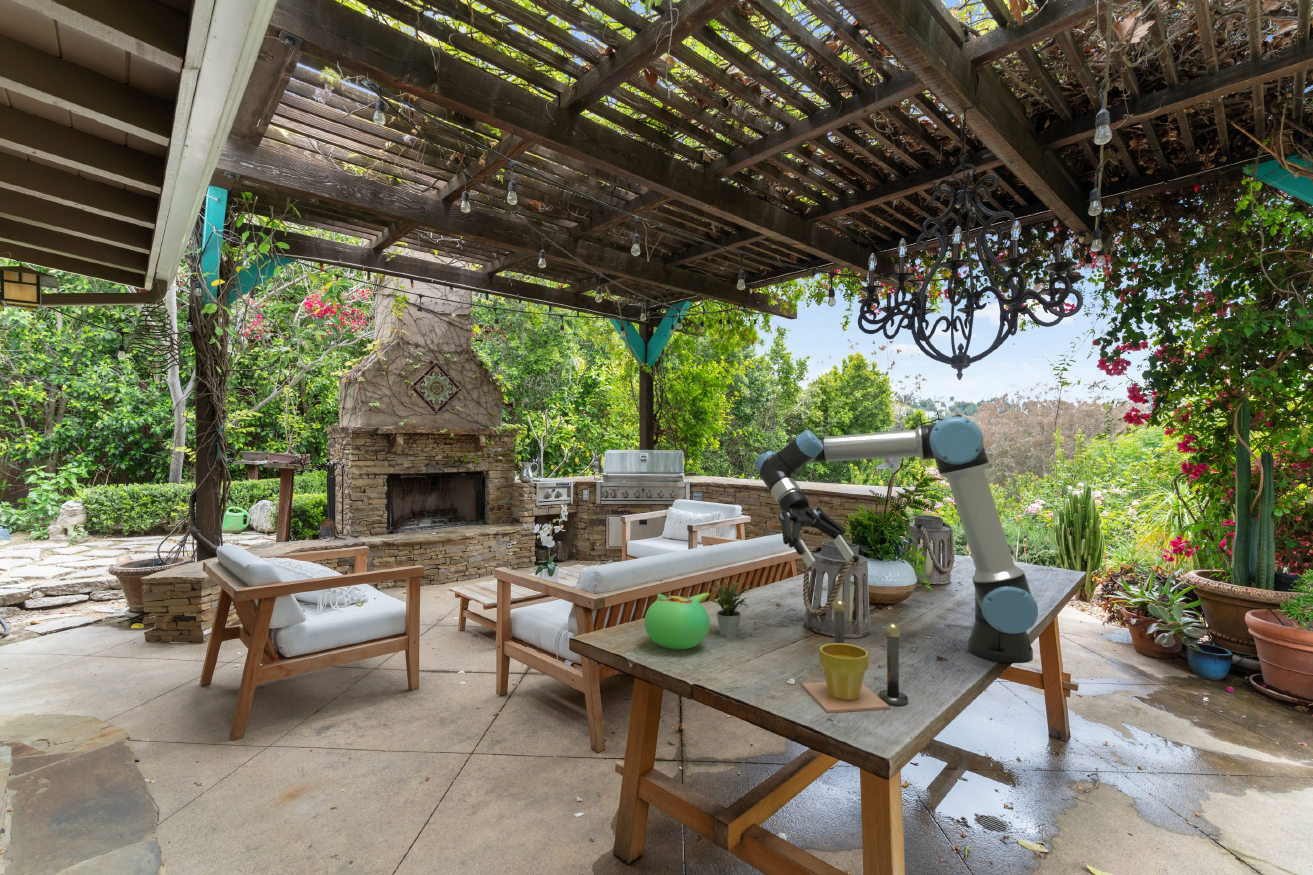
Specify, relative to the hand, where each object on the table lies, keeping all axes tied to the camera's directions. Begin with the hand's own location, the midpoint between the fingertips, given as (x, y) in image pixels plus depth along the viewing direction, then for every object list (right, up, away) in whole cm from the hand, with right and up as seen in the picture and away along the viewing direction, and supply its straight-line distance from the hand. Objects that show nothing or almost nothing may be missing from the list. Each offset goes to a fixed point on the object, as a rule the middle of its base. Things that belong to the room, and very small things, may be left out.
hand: (831, 561), depth 150 cm
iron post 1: (+2, -26, -2) cm, 26 cm away
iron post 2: (+7, -26, -21) cm, 34 cm away
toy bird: (-39, -27, +13) cm, 49 cm away
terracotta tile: (-3, -26, -19) cm, 33 cm away
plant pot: (-3, -26, -19) cm, 32 cm away
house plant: (-23, -27, +22) cm, 42 cm away
